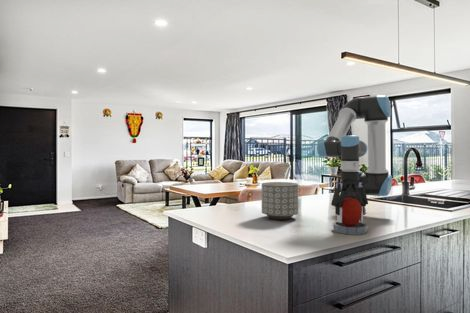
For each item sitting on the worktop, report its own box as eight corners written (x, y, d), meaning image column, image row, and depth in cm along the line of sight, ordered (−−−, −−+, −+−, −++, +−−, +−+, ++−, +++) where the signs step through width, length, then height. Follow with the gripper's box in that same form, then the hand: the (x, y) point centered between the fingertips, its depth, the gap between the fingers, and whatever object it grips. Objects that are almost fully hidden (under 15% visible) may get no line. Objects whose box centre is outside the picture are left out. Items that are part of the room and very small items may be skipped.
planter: (302, 216, 181) (302, 182, 181) (292, 223, 164) (292, 186, 164) (268, 213, 189) (268, 181, 189) (256, 220, 172) (256, 184, 172)
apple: (365, 229, 143) (365, 196, 143) (341, 229, 143) (341, 196, 143) (357, 223, 153) (357, 193, 153) (335, 223, 154) (335, 193, 153)
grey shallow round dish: (327, 231, 148) (327, 224, 148) (341, 225, 158) (341, 219, 158) (359, 236, 138) (359, 229, 138) (371, 230, 149) (371, 223, 149)
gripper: (332, 171, 141) (332, 225, 141) (377, 170, 148) (377, 221, 148) (322, 170, 148) (322, 221, 148) (365, 169, 155) (365, 218, 155)
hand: (349, 221), depth 148 cm, fingers closed on apple, 10 cm apart
